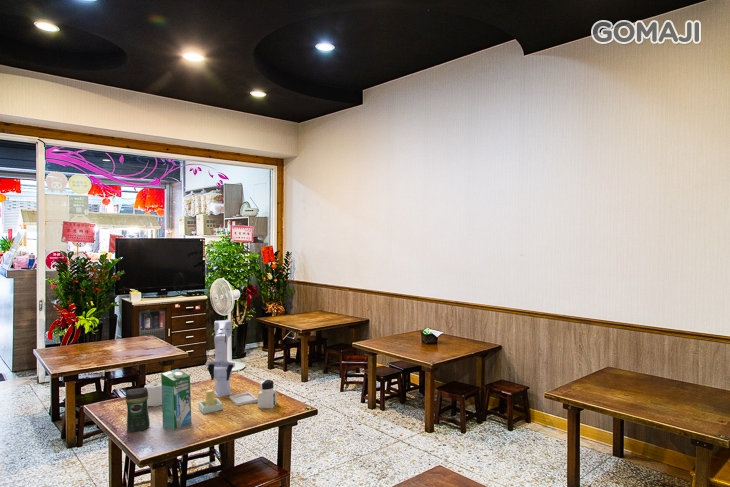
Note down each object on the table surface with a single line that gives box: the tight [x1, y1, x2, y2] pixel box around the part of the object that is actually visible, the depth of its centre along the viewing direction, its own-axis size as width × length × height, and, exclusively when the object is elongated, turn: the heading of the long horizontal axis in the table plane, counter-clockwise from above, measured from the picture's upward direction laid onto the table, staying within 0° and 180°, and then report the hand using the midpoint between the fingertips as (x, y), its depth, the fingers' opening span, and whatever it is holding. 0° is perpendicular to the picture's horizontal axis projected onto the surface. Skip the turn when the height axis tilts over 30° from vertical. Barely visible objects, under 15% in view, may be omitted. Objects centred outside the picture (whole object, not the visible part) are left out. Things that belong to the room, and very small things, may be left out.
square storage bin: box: [197, 397, 224, 414], centre depth 240 cm, size 10×10×4 cm
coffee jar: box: [125, 387, 151, 432], centre depth 218 cm, size 10×8×19 cm
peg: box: [205, 389, 215, 406], centre depth 240 cm, size 4×4×9 cm
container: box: [257, 379, 278, 409], centre depth 244 cm, size 8×8×13 cm
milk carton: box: [160, 368, 192, 431], centre depth 221 cm, size 9×9×25 cm
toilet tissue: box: [143, 380, 162, 407], centre depth 252 cm, size 11×12×10 cm
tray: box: [228, 391, 258, 407], centre depth 252 cm, size 14×11×2 cm
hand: (220, 379), depth 241 cm, fingers open, 7 cm apart
